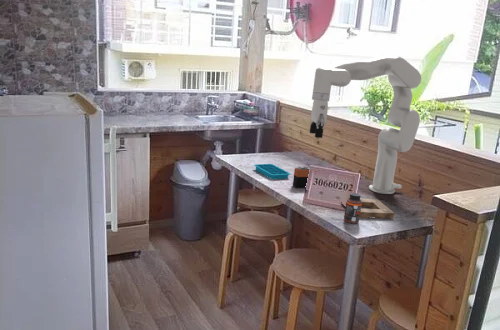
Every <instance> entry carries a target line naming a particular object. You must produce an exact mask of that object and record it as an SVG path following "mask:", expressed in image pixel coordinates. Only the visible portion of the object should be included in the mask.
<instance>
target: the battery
mask: <svg viewBox="0 0 500 330" xmlns="http://www.w3.org/2000/svg"><path fill="white" fill-rule="evenodd" d="M309 170H310V168H309V166H303V167H300V166H298V167H295V168H294V171H293V172H294V173H293V180H292V186H293V187H295V189H306V188H305V186H306V183H307V178H308V174H309Z"/></svg>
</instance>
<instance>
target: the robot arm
mask: <svg viewBox="0 0 500 330" xmlns="http://www.w3.org/2000/svg"><path fill="white" fill-rule="evenodd" d="M386 75H387V77H388V78H387V79H388V81H389V82H388V83H389V84H390V85H391V87H392V91H393V98H392V101H391V104H390V108H389V111H388V114H387V115H388V116H387V122H388V123H389V125H391V126H394V127H398V128H399V129H396V128H392V127H385V128H383V129H382V130H381V131H380V132H378V135H377V136H378V137H377V138H378V139H377V142H378V143H377V144H378V147H377V155H376V162H375V168H374V175H373V179H372V184H370V185H368V189H369V190H370V191H372V192H374V193H377V194H383V195H392V194H395V192H396V190H395V189H402V187H403V186H402V184H398V183H395V182H394V179H395V174H396V173H395V172H396V168H397V163H398V152H399V153H400V152H401V153H406V152H408V151H410V149H411V148H412V146H413V144H414V141H415V139H416V136H417V132H418V129H419V127H420V121H421V119H420V118H421V116H420V114H419V112H418V111H417V110H415V109H412V108H411V104H412V102H413V100H412V99H413V92H412V90H413V89H415V88H418V87H419V86H420V84H421V82H422V74H421V73H420V71H419V70H418V69H417V68H415V66H413V65H412V64H411V63H409V61H407V60H406V59H404V58H403V57H401V56H397V55H382V56H379V57H374V58H370V59H366V60H362V61H355V62H354V61H353V62H350V63H343V64H338V65H335V66H330V67H328V68H327V67H317V68H316V69H315V72H314V79H313V89H312V96H311V100H313V101H312V102H313V103H312V107H311V113H310V114H311V115H310V120H311V121H310V128H309V133H310V134H314V137H315V138H316V139H317V138H318V139H322V138H323V136H324V135H323V133H324V127H325V125H326V124H327V120H328V108H329V106H328V105H329V102H330V97H331V90H332V86H335V87H339V88H343V87H346V86H348V85H349V84H350V83H351V81H367V80H370V79H374V78H377V77H381V76H386Z"/></svg>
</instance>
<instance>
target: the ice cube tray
mask: <svg viewBox="0 0 500 330" xmlns="http://www.w3.org/2000/svg"><path fill="white" fill-rule="evenodd" d="M254 167H255V171H256V172H258V173H261V175H263V174H264V176H265V177H267V178H268V179H270V178H271V180H286V179H289V175H291V172H288V171H287V170H285V169H283V168H282V167H279V166H277V165H276V164H273V163H258V164H257V163H256V164H254Z"/></svg>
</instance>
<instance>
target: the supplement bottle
mask: <svg viewBox="0 0 500 330" xmlns="http://www.w3.org/2000/svg"><path fill="white" fill-rule="evenodd" d="M347 198H348V199H347V202H346V208H345V207H344V213H343V220H344V222H346V223H348V224H359V222H360V218H359V217H360V211H361V209H362V207H361V205H362V201H361V200H360V199H361V194H360V193H356V192H351V193H349V197H347Z"/></svg>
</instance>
